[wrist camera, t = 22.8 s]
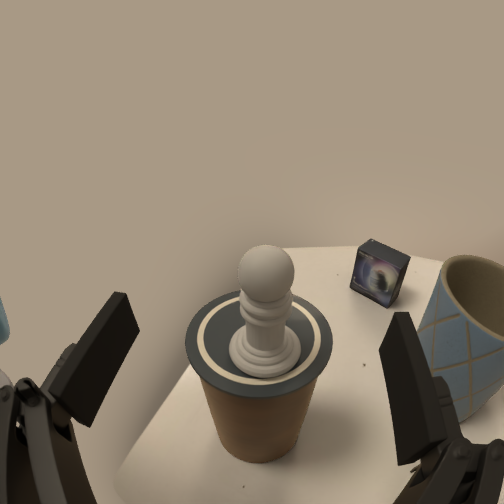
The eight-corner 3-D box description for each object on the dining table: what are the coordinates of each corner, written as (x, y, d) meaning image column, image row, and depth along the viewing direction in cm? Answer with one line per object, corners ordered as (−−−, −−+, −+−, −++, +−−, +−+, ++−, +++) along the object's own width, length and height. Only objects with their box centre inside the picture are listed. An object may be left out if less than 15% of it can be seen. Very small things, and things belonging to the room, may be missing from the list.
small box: (347, 288, 59) (356, 247, 53) (361, 276, 62) (370, 237, 57) (387, 309, 52) (401, 268, 46) (398, 295, 55) (411, 255, 50)
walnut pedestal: (224, 468, 27) (195, 402, 16) (214, 401, 36) (191, 301, 26) (307, 453, 28) (346, 375, 18) (287, 390, 38) (301, 288, 27)
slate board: (188, 409, 16) (186, 406, 16) (185, 299, 26) (185, 295, 26) (354, 378, 18) (356, 375, 17) (305, 284, 28) (305, 280, 28)
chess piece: (288, 389, 17) (303, 285, 12) (217, 367, 19) (200, 263, 14) (307, 335, 21) (322, 235, 17) (245, 320, 23) (242, 222, 18)
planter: (422, 330, 46) (458, 242, 35) (491, 374, 32) (544, 291, 22) (371, 390, 36) (420, 292, 26) (456, 451, 23) (543, 370, 12)
